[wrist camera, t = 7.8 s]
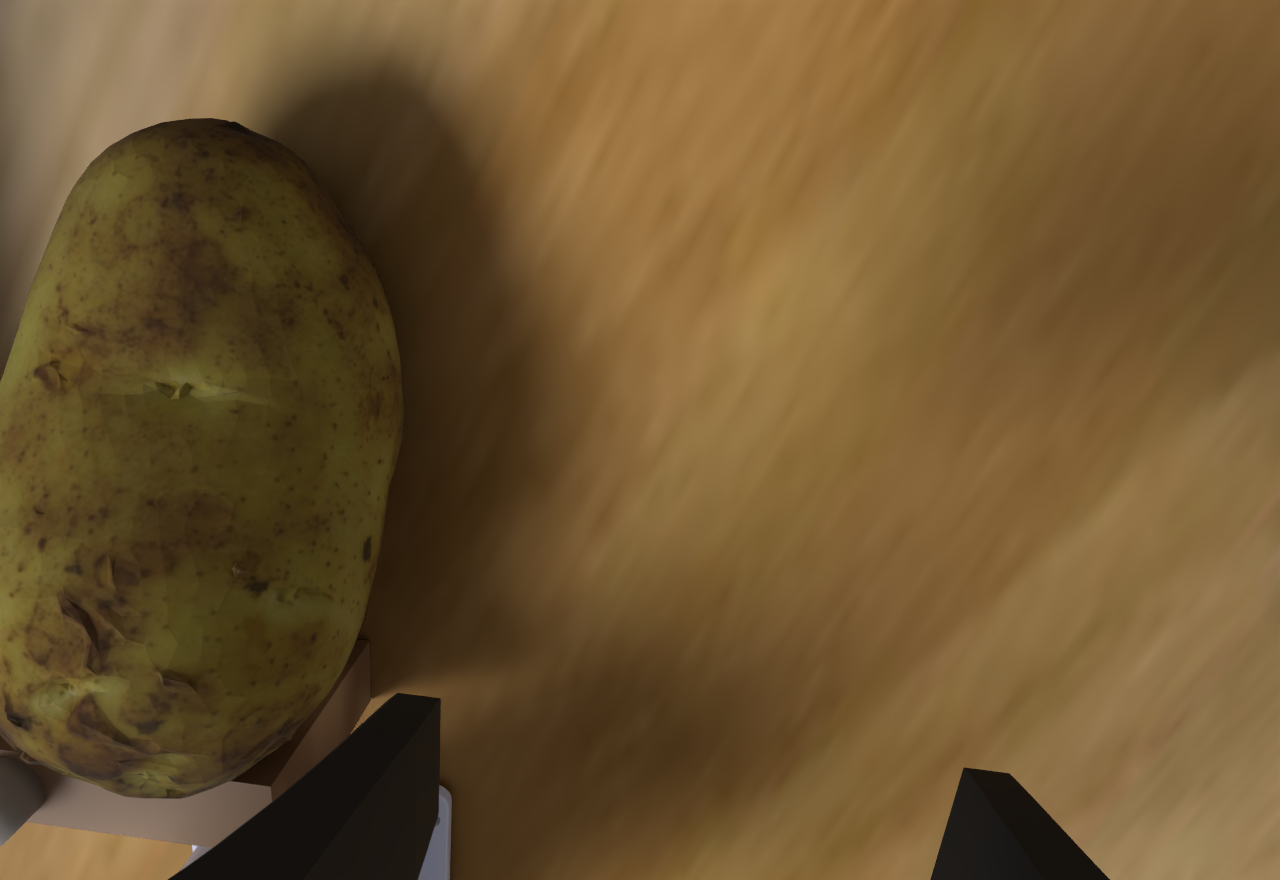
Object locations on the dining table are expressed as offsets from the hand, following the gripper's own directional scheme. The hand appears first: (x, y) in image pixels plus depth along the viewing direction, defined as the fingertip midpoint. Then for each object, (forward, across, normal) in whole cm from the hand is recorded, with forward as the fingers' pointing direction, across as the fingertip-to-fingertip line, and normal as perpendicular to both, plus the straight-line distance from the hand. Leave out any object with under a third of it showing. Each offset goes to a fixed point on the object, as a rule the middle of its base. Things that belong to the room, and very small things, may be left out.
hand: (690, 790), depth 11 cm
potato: (+10, +10, -1) cm, 14 cm away
